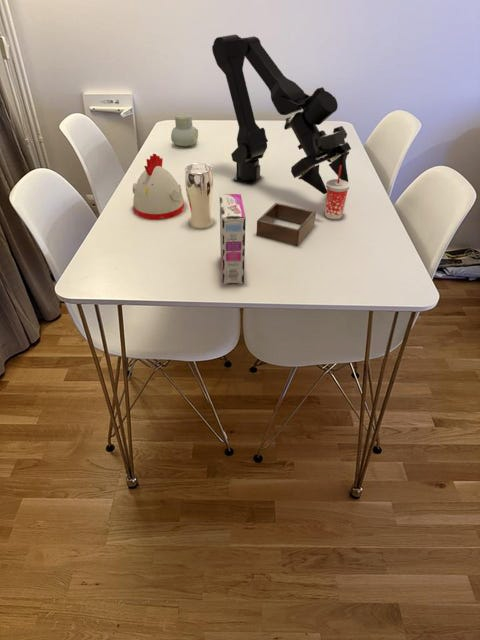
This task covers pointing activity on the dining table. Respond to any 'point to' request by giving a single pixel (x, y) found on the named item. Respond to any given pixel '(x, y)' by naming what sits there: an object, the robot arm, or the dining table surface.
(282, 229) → the crate
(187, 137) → the air freshener
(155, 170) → the kitchen timer
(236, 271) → the candy bar box
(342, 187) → the beverage cup
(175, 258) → the dining table surface
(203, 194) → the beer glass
